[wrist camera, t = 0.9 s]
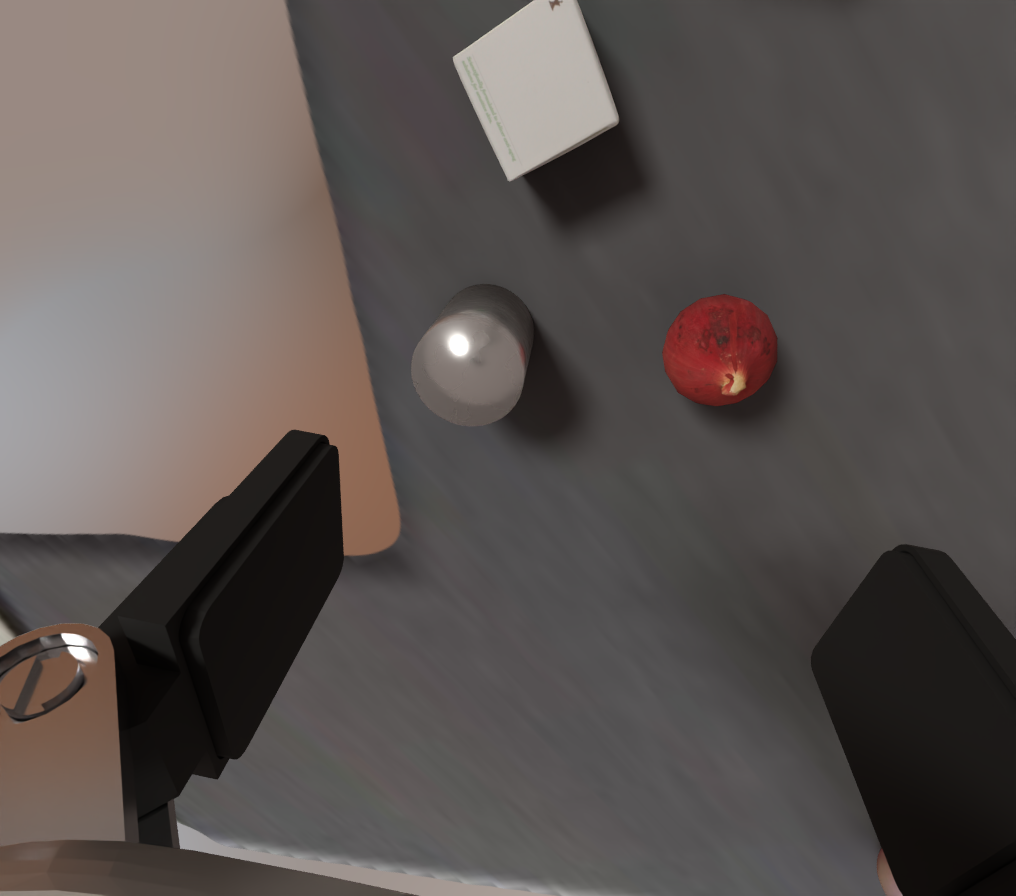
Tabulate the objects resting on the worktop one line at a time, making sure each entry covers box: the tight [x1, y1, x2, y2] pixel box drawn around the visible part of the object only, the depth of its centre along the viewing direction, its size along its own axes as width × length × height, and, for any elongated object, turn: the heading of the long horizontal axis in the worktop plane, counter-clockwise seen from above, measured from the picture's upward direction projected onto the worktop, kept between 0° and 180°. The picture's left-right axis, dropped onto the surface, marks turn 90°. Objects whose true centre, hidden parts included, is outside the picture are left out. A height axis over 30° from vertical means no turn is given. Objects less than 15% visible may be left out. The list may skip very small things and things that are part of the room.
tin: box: [411, 284, 534, 426], centre depth 31 cm, size 6×6×7 cm
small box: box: [453, 0, 619, 181], centre depth 25 cm, size 6×6×5 cm
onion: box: [662, 294, 777, 406], centre depth 29 cm, size 6×6×8 cm
